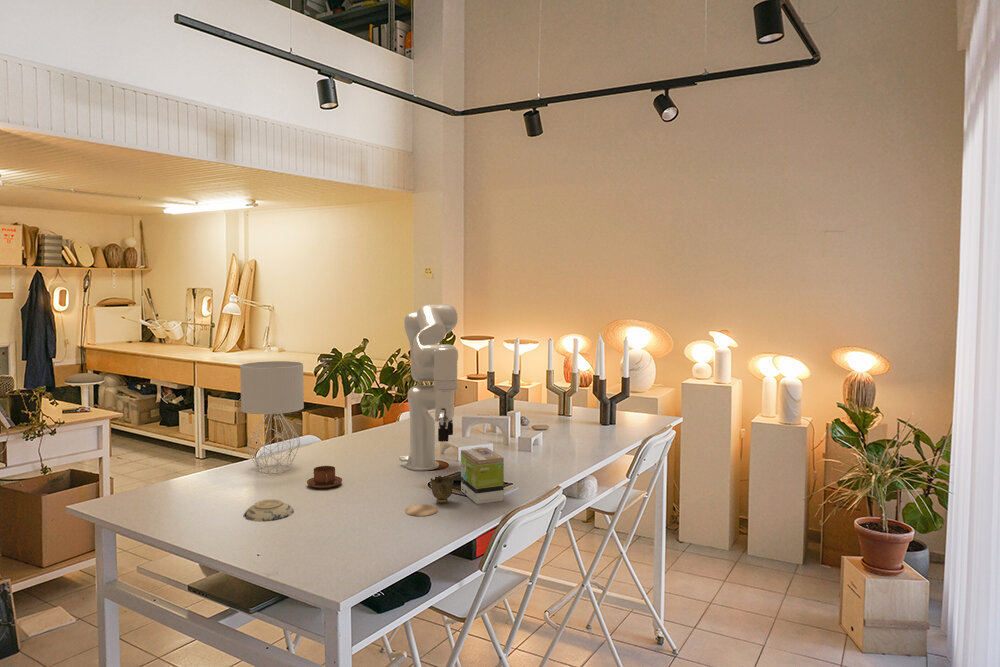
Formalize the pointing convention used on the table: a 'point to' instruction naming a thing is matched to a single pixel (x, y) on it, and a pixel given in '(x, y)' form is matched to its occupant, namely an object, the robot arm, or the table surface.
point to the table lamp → (272, 397)
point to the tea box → (482, 475)
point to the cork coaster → (421, 510)
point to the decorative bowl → (268, 511)
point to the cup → (442, 488)
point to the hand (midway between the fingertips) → (445, 438)
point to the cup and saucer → (324, 477)
